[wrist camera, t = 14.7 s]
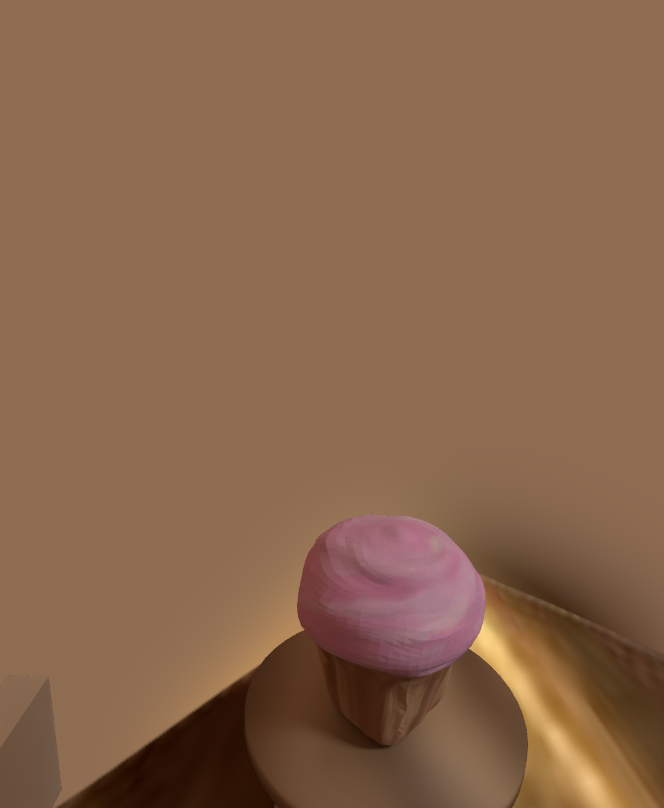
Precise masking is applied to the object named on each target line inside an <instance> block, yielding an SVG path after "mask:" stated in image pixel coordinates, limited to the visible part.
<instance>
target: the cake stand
mask: <svg viewBox="0 0 664 808" xmlns="http://www.w3.org/2000/svg"><path fill="white" fill-rule="evenodd" d="M245 743H246V749H247V754H248V757H249V760H250V763H251V766H252V769H253V771H254V773H255V775H256V777H257V779H258V781H259V783H260V785H261V786H262V788H263V789H264V790H265V792H266V793H267V794H268V796H269V797H270V799H271V800H272V801H273V802H274V803H275V804H274V808H512V807H513V804H514V802H515V800H516V798H517V796H518V794H519V792H520V788H521V785H522V781H523V777H524V772H525V767H526V761H527V751H528V739H527V729H526V725H525V721H524V717H523V714H522V712H521V709H520V707H519V704H518V702H517V700H516V698H515V697H514V695H513V693H512V692H511V690H510V688H509V687H508V686H507V684H506V683H505V682H504V680H503V679H502V678H501V676H500V675H499V674H498V673H497V672H496V671H495V670H494V669H493V668H492V667H491V666H490V665H489V664H488V663H487V662H485V661H484V660H483V659H482V658H481V657H480V656H478V655H477V654H476V653H474V652H473V651H471V650H470V649H468V650H467V651H466V652H465V653H464V654H463V655H462V656H461V657H460V658H459V659H458V660H457V661H455V662H454V663H452V668H451V673H450V677H449V682H448V686H447V689H446V691H445V694H444V696H443V698H442V699H441V700H440V702H439V703H438V704H437V705H436V706H435V707H434V708H433V709H431V710H430V711H429V712H428V713H427V714H426V715H425V717H424V719H423V720H422V722H421V723H420V724H419V725H418V726H417V727H415V728H414V729H413V730H412V731H411V732H410V733H409V734H408V736H407V737H406V738H405V739H404V740H403V741H402V742H401V743H400V744H397V745H381V744H379V743H377V742H376V741H375V740H373V739H372V738H370V737H369V736H367V735H365V734H364V733H362V731H361V730H360V729H359V728H358V727H357V726H356V725H354V724H353V723H352V722H351V721H350V720H348V719H347V718H346V717H345V716H344V714H342V713H341V712H340V711H339V710H338V709H337V708H336V707H334V705H333V703H332V701H331V699H330V697H329V694H328V691H327V687H326V683H325V679H324V675H323V671H322V667H321V662H320V658H319V654H318V650H317V646H316V643H315V642H314V641H313V640H312V639H311V638H310V637H309V636H308V635H307V634H306V631H305V630H304V631H302V632H299V633H297V634H296V635H294V636H292V637H290V638H289V639H287V640H285V641H284V642H283V643H282V644H280V645H279V646H278V647H276V648H275V649H274V650H273V651H272V652H271V653H270V654H269V655H268V656H267V657H266V658H265V659H264V661H263V662H262V664H261V665H260V666H259V668H258V669H257V671H256V673H255V675H254V676H253V678H252V680H251V683H250V686H249V689H248V692H247V697H246V703H245Z"/></svg>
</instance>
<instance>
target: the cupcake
mask: <svg viewBox="0 0 664 808" xmlns="http://www.w3.org/2000/svg"><path fill="white" fill-rule="evenodd" d="M485 603H486V602H485V590H484V586H483V582H482V580H481V577H480V576H479V574H478V573H477V572H476V570H475V568H474V567H473V565H472V564H471V562H470V561H469V559H468V558H467V557H466V555H465V554H464V553H463V551H462V550H461V549H460V548H459V547H458V546H457V545H456V544H455V543H454V542H453V541H452V540H451V539H450V538H449V537H448V536H447V535H446V534H445V533H444V532H443V531H441V530H440V529H438V528H437V527H435V526H434V525H432V524H430V523H427V522H425V521H422V520H419V519H417V518H412V517H407V516H381V515H373V514H371V515H363V516H357V517H353V518H350V519H347V520H344V521H341V522H339V523H337V524H335V525H334V526H333V527H331V528H330V529H328V530H327V531H325V532H324V533H323V534H321V535H320V536H319V537H318V539H317V540H316V542H315V544H314V545H313V547H312V548H311V550H310V551H309V553H308V555H307V558H306V561H305V564H304V568H303V574H302V578H301V583H300V587H299V594H298V603H297V610H298V611H297V612H298V617H299V620H300V623H301V626H302V627H303V628H304V629H305V631H306V634H307V635H308V636H309V637H310V638H311V639H312V640H313V641H314V642H315V643H316V646H317V650H318V654H319V658H320V662H321V667H322V671H323V675H324V679H325V683H326V687H327V691H328V694H329V697H330V699H331V701H332V703H333V705H334V707H336V708H337V709H338V710H339V711H340V712H341V713H342V714H344V716H345V717H346V718H347V719H348V720H350V721H351V722H352V723H353V724H354V725H356V726H357V727H358V728H359V729H360V730H361V731H362V733H364V734H365V735H367V736H369V737H370V738H372V739H373V740H375V741H376V742H377V743H379V744H381V745H397V744H400V743H401V742H402V741H403V740H404V739H405V738H406V737H407V736H408V734H409V733H410V732H411V731H412V730H413V729H414V728H415V727H417V726H418V725H419V724H420V723H421V722H422V720H423V719H424V717H425V715H426V714H427V713H428V712H429V711H430V710H431V709H433V708H434V707H435V706H436V705H437V704H438V703H439V702H440V700H441V699H442V698H443V696H444V694H445V691H446V689H447V686H448V682H449V677H450V673H451V668H452V663H454V662H455V661H457V660H458V659H459V658H460V657H461V656H462V655H463V654H464V653H465V652H466V651H467V650H468V649H469V648H470V647H471V645H472V644H473V642H474V641H475V639H476V638H477V636H478V634H479V632H480V630H481V627H482V624H483V619H484V613H485Z"/></svg>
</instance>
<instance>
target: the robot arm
mask: <svg viewBox="0 0 664 808" xmlns="http://www.w3.org/2000/svg"><path fill="white" fill-rule="evenodd" d="M61 790H62V787H61V780H60V770H59V762H58V753H57V745H56V736H55V728H54V719H53V710H52V702H51V693H50V684H49V677H44V676H24V675H8V676H7V677H6V679H5V680H4V681H3V683H2V684H1V685H0V808H52V807H53V805H54V803H55V801H56V799H57V797H58V796H59V794H60V792H61Z"/></svg>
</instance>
